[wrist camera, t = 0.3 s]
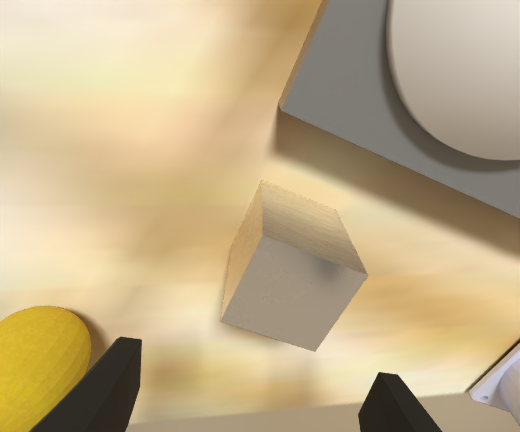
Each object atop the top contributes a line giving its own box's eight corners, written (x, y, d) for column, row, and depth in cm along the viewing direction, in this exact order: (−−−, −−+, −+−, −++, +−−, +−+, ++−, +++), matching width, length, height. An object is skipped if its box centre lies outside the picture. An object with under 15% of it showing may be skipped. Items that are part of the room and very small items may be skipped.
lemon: (129, 317, 21) (62, 451, 14) (77, 357, 23) (-7, 496, 16) (56, 262, 19) (-64, 384, 12) (5, 310, 21) (-128, 442, 14)
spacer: (335, 209, 18) (368, 275, 13) (299, 271, 20) (315, 351, 14) (261, 179, 17) (262, 235, 12) (231, 246, 19) (220, 321, 14)
